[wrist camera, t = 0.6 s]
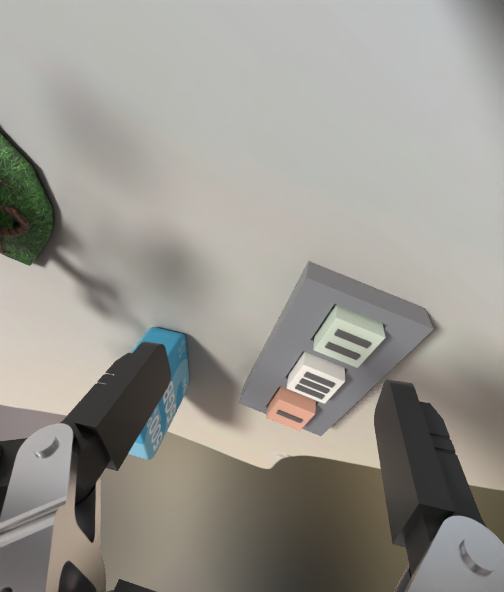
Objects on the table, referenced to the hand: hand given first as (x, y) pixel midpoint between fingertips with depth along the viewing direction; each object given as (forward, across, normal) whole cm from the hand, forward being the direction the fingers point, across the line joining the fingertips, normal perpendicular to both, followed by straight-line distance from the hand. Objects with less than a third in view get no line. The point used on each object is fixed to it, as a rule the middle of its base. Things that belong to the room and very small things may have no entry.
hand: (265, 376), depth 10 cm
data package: (+20, +17, +20) cm, 33 cm away
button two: (+17, -5, +9) cm, 20 cm away
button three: (+17, -3, +16) cm, 24 cm away
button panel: (+19, -3, +16) cm, 25 cm away
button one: (+18, -1, +22) cm, 29 cm away
